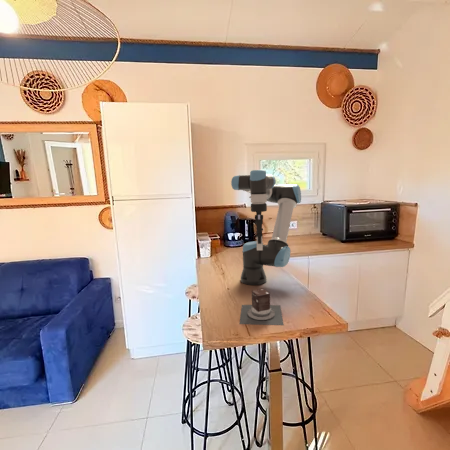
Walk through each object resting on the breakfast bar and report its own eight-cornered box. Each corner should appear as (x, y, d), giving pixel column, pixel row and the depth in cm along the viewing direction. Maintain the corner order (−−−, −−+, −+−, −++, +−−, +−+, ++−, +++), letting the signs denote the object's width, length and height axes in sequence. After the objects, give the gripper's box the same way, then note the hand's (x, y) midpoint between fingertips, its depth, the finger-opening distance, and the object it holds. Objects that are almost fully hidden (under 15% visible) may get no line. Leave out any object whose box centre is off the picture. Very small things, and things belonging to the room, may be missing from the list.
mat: (241, 305, 132) (241, 304, 132) (280, 306, 130) (280, 305, 130) (239, 325, 114) (239, 324, 114) (283, 326, 112) (283, 325, 112)
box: (251, 306, 123) (251, 290, 122) (263, 303, 125) (263, 288, 124) (258, 312, 117) (257, 295, 116) (270, 309, 119) (270, 293, 118)
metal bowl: (247, 307, 128) (247, 301, 128) (274, 308, 127) (274, 301, 126) (246, 320, 117) (246, 314, 116) (275, 321, 115) (275, 314, 115)
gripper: (251, 201, 143) (252, 241, 147) (250, 205, 119) (251, 253, 122) (265, 200, 143) (266, 240, 146) (267, 205, 118) (268, 253, 122)
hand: (259, 246), depth 134 cm, fingers open, 13 cm apart
